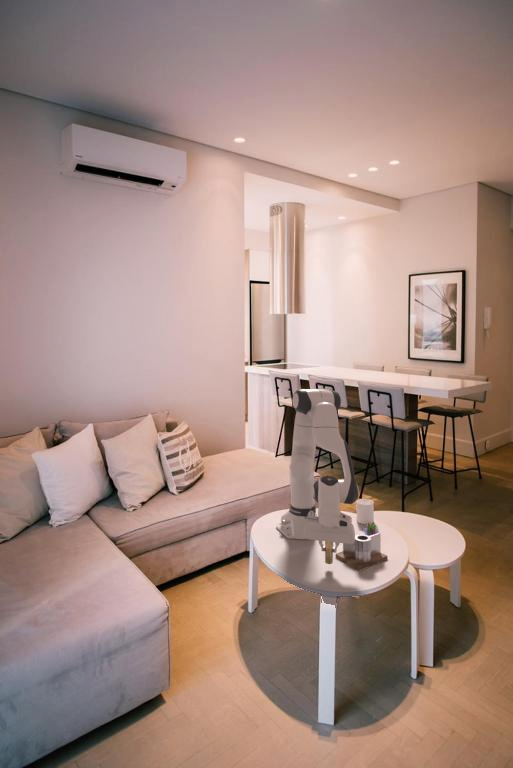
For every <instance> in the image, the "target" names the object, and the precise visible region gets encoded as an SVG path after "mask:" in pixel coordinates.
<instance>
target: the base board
mask: <svg viewBox="0 0 513 768" xmlns="http://www.w3.org/2000/svg"><path fill="white" fill-rule="evenodd" d="M335 558H336V559H337V560H339V561H342V562H343V563H346V564H347V565H349V566H350V567H353V568H354V569H355V570H358V571H361V570H364V569H367V568H369V567H372V566H374V565H377V564H379V563H382V562H384V561H386V560H388V555H386V554H384V553H382V552H381V553H379V554H376V555H374V556H371V561H370V562H368V563H361V562H358V561H356V560H355V556H353V555H350V554H348V553H345V552H343V550H342V551H340V552H336V553H335Z"/></svg>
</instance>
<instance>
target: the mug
mask: <svg viewBox="0 0 513 768" xmlns="http://www.w3.org/2000/svg"><path fill="white" fill-rule="evenodd" d="M355 503H356V505H355V510H356V521H357V523H358V524H360V523H361V524H360V525H366V524H368V523H372V524H374V519H375V518H374V517H375V515H374V511H375V510H374V505H375V504H374V503H375V502H374V501H373V500H372V499H369V498H360V499H359V498H358V499H357V500H356V502H355Z"/></svg>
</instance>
